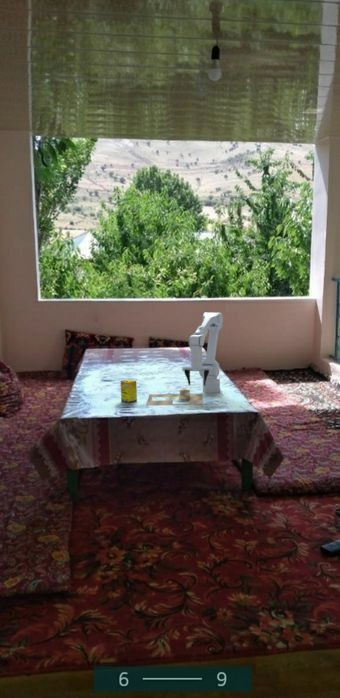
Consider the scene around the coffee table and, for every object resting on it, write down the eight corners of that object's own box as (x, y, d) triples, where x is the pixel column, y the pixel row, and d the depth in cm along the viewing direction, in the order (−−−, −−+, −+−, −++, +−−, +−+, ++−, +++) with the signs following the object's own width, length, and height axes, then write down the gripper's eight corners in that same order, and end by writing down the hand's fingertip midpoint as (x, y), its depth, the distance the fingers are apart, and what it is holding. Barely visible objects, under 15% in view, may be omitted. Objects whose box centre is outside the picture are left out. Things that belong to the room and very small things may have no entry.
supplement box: (120, 401, 271) (120, 380, 269) (129, 399, 275) (129, 378, 274) (128, 403, 267) (127, 382, 265) (137, 401, 271) (136, 380, 269)
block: (189, 397, 271) (189, 387, 270) (189, 399, 266) (189, 389, 265) (180, 397, 271) (180, 387, 270) (179, 399, 266) (179, 390, 265)
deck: (202, 396, 277) (202, 393, 277) (203, 407, 256) (203, 404, 255) (149, 397, 279) (149, 394, 278) (145, 408, 257) (145, 405, 257)
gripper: (181, 359, 261) (182, 386, 263) (210, 359, 259) (210, 386, 261) (182, 357, 268) (183, 383, 270) (211, 357, 266) (211, 383, 268)
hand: (197, 384), depth 266 cm, fingers open, 7 cm apart
